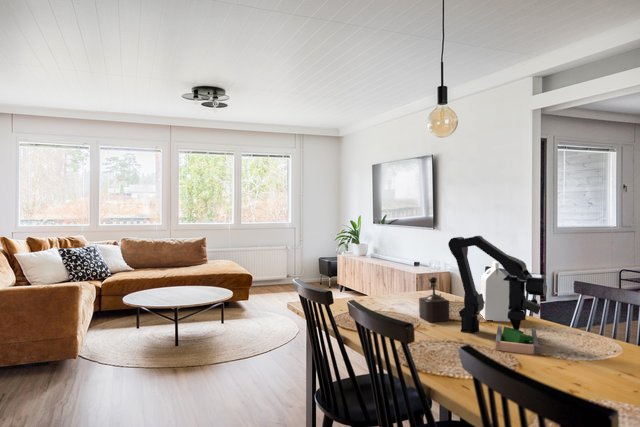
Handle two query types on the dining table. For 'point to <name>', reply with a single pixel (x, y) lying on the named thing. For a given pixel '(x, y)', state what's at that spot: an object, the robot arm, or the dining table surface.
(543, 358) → the dining table surface
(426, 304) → the dark brown stamp
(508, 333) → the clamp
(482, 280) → the milk
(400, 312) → the dining table surface
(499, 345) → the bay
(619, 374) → the dining table surface
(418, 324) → the dining table surface
